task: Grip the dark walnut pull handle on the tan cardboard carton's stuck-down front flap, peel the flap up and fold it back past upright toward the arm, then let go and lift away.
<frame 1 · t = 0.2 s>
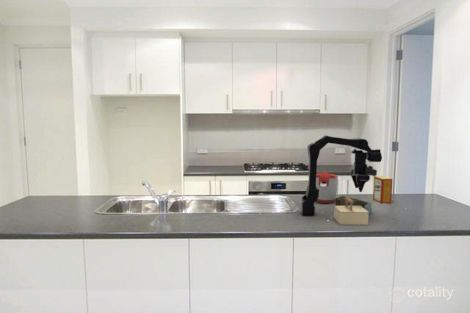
hand: (358, 189, 167), 14 cm above the worktop, tool pointing down, fingers open, 9 cm apart
baking soda box: (381, 201, 197), on the worktop
beverage carton: (352, 210, 179), on the worktop
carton: (350, 221, 159), on the worktop
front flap: (343, 204, 158), point 9 cm above the worktop, hinge at 0.0°
citrus juicer: (324, 201, 197), on the worktop
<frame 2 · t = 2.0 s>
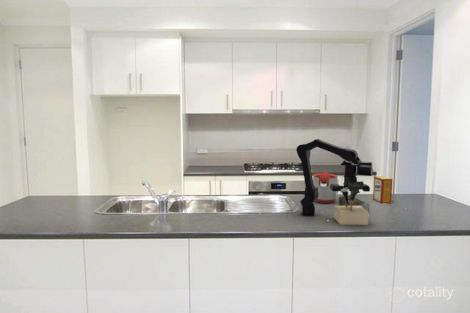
hand: (348, 203, 158), 9 cm above the worktop, tool pointing down, fingers closed on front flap, 2 cm apart
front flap: (344, 204, 158), point 9 cm above the worktop, hinge at 0.0°, touching gripper
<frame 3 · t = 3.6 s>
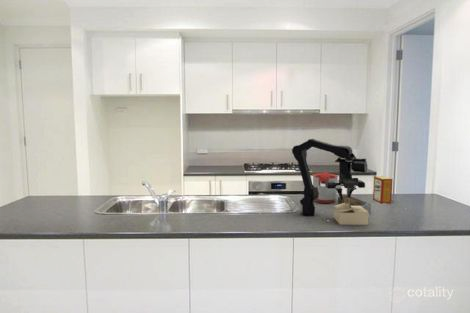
hand: (344, 200, 158), 11 cm above the worktop, tool pointing down, fingers open, 3 cm apart
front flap: (342, 202, 158), point 10 cm above the worktop, hinge at 15.9°, touching gripper
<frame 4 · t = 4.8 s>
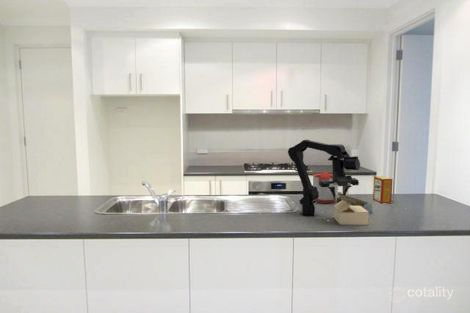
hand: (339, 198, 158), 12 cm above the worktop, tool pointing down, fingers open, 4 cm apart
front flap: (339, 201, 158), point 10 cm above the worktop, hinge at 34.3°, touching gripper
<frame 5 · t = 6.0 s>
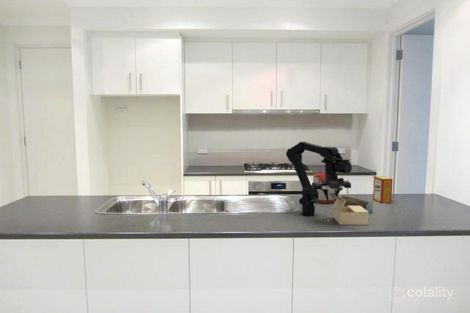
hand: (331, 201, 158), 11 cm above the worktop, tool pointing down, fingers open, 3 cm apart
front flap: (334, 201, 158), point 10 cm above the worktop, hinge at 65.2°, touching gripper
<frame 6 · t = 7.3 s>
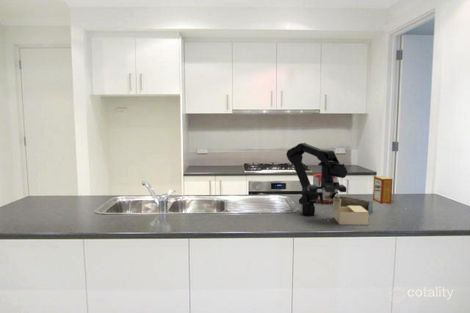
hand: (326, 204, 159), 9 cm above the worktop, tool pointing down, fingers open, 4 cm apart
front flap: (331, 203, 159), point 10 cm above the worktop, hinge at 87.3°
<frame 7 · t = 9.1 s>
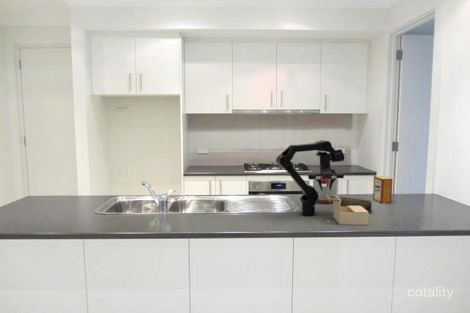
hand: (325, 190, 172), 13 cm above the worktop, tool pointing down, fingers open, 4 cm apart
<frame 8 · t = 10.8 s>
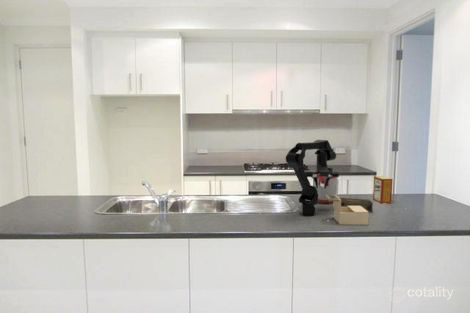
hand: (320, 188, 177), 13 cm above the worktop, tool pointing down, fingers open, 4 cm apart
at the end: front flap at +87° (first picture: +0°); the gripper is holding nothing; beverage carton moved 1.0 cm from its start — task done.
